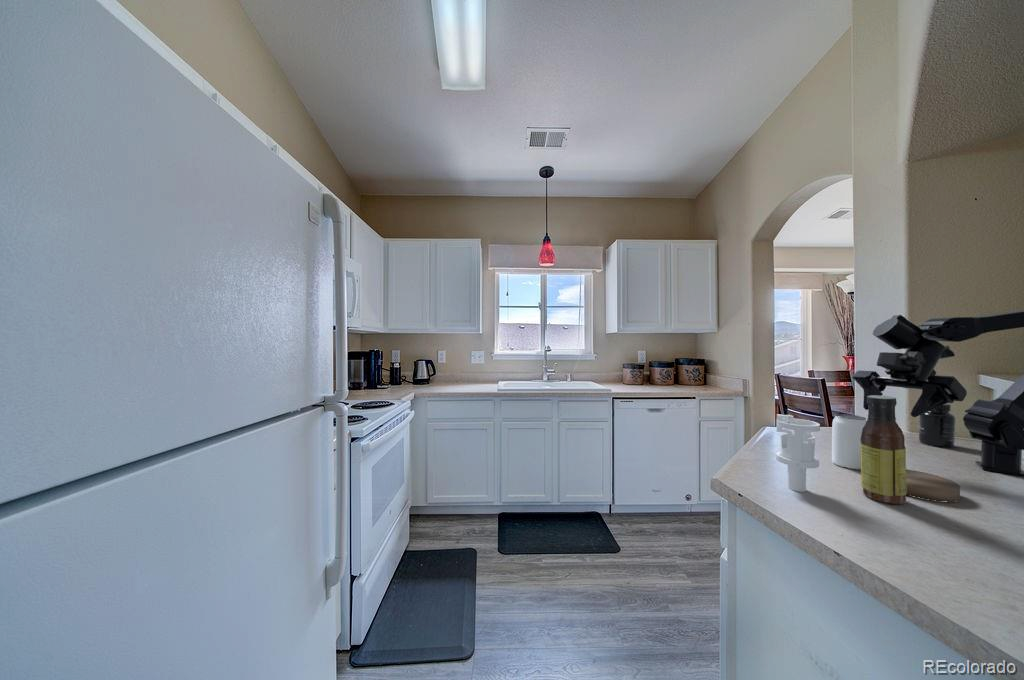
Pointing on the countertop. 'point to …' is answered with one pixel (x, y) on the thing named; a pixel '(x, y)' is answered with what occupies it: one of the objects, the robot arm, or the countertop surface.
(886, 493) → the sauce bottle
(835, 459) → the can
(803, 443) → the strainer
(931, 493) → the walnut stand
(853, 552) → the countertop surface
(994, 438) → the robot arm
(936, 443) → the supplement bottle
